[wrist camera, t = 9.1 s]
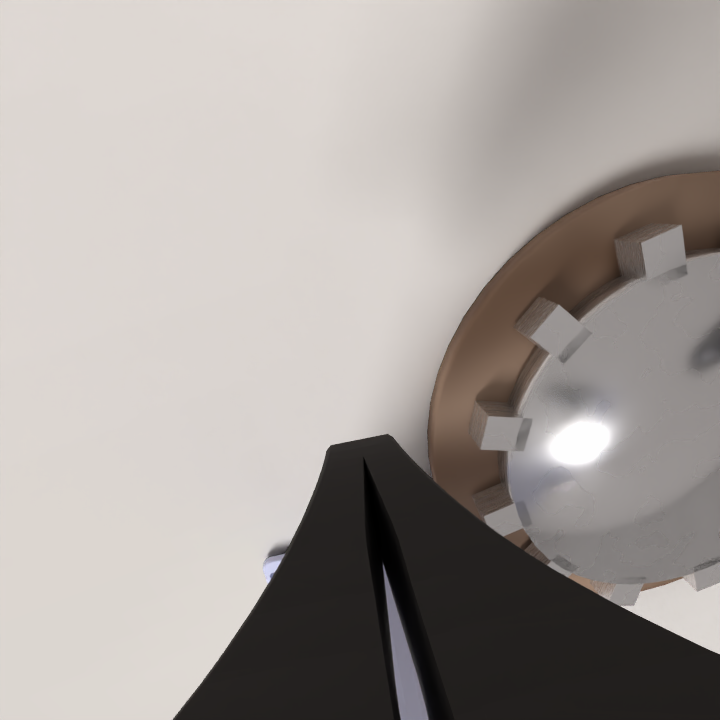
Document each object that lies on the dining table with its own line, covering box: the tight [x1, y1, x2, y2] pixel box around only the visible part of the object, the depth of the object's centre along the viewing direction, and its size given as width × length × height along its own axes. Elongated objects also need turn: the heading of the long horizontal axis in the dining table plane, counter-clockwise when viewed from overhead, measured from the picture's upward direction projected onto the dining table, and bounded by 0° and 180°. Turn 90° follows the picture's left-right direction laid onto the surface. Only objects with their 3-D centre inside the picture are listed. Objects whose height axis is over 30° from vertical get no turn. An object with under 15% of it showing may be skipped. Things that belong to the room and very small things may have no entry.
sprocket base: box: [427, 171, 720, 594], centre depth 21 cm, size 23×23×3 cm
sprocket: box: [468, 223, 720, 606], centre depth 18 cm, size 20×20×6 cm
